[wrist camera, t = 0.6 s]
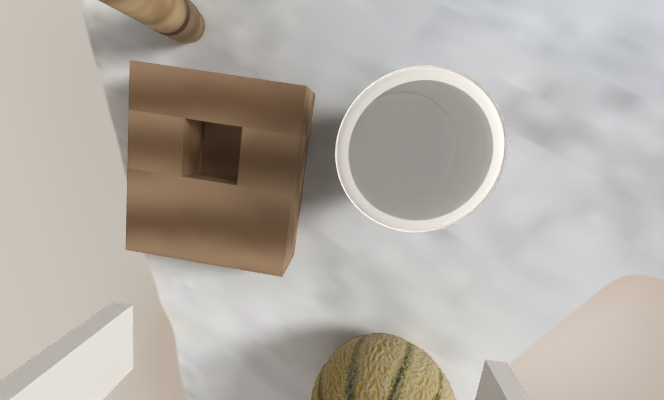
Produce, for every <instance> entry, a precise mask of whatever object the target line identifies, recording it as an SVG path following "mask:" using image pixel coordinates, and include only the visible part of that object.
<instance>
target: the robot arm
mask: <svg viewBox="0 0 664 400" xmlns="http://www.w3.org/2000/svg"><path fill="white" fill-rule="evenodd" d="M132 306H133V305H130V304H124V303H117V302H112V303H111V304H109V305H108V306H106V307H105V308H104V309H102V310H101V311H99V312H98V313H96V314H95V315H94V316H92V317H91V318H89V319H88V320H86V321H85V322H84V323H82V324H81V325H79V326H78V327H76V328H75V329H74V330H72V331H71V332H69V333H68V334H66V335H65V336H63V337H62V338H61V339H59V340H58V341H57V342H55V343H54V344H52V345H51V346H49V347H48V348H47V349H45V350H43V351H42V352H41V353H39V354H38V355H36V356H35V357H34V358H32V359H31V360H29V361H28V362H26V363H25V364H23V365H22V366H21V367H19V368H18V369H16V370H15V371H13V372H12V373H10V374H9V375H8V376H6V377H5V378H3V379H2V380H0V400H103V399H104V398H105V397H106V396H107V395H108V394H109V393H110V392H111V391H112V390H113V389H114V388H115V386H116V385H117V384H118V383H119V382H120V381H121V380H122V379H123V378H124V377H125V376H126V375H127V374H128V373H129V372H130V371H131V370H132V369H133V309H132V308H133V307H132ZM475 400H530V398H529V396H528V395H527V393H526V392H525V390H524V389H523V387H522V386H521V384H520V382H519V381H518V379H517V378H516V376H515V375H514V373H513V371H512V370H511V368H510V367H509V365H508V364H507V363H503V362H497V361H490V360H485V363H484V367H483V371H482V375H481V379H480V383H479V387H478V391H477V395H476V399H475Z"/></svg>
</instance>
